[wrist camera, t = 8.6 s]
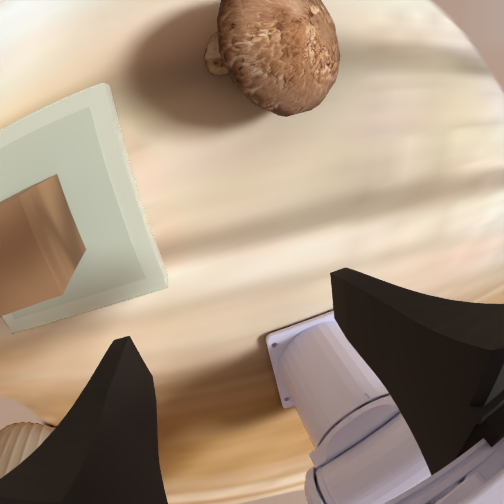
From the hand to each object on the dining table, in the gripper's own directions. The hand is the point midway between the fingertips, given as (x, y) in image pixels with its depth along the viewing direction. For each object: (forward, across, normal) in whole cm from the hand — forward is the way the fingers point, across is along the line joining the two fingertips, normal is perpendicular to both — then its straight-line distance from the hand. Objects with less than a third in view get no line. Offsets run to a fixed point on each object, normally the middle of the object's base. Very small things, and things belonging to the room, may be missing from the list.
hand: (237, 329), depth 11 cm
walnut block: (+8, +9, -4) cm, 13 cm away
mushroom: (+10, -6, -10) cm, 15 cm away
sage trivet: (+10, +9, -4) cm, 14 cm away
